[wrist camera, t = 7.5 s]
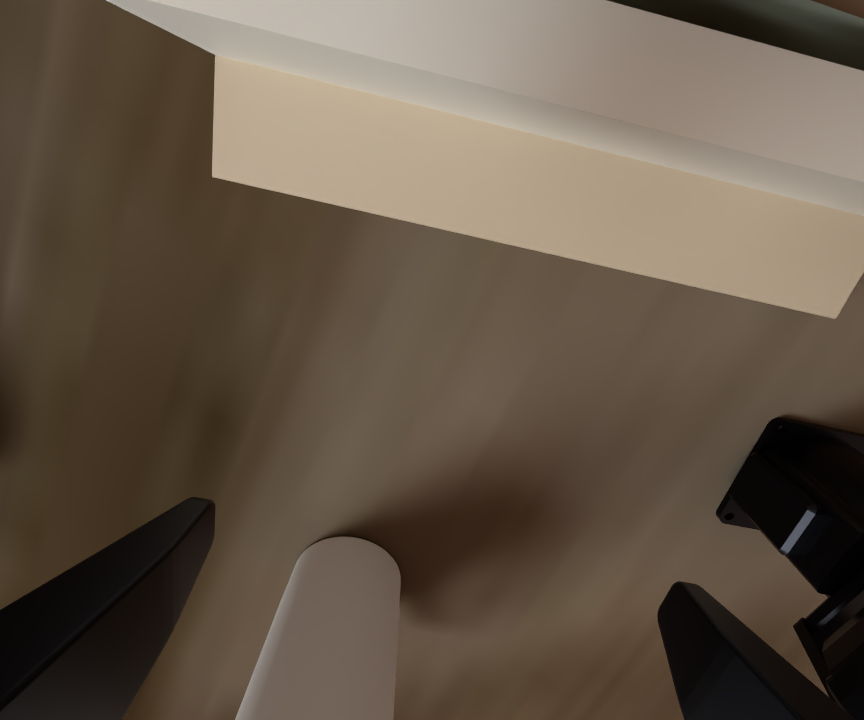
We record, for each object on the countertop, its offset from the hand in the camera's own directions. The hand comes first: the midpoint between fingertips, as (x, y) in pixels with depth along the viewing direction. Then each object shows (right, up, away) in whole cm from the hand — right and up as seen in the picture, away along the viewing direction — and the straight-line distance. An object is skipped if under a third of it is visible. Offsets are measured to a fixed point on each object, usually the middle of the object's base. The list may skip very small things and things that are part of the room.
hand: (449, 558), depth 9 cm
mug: (-5, -10, +19) cm, 22 cm away
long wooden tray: (+5, +11, +9) cm, 15 cm away
